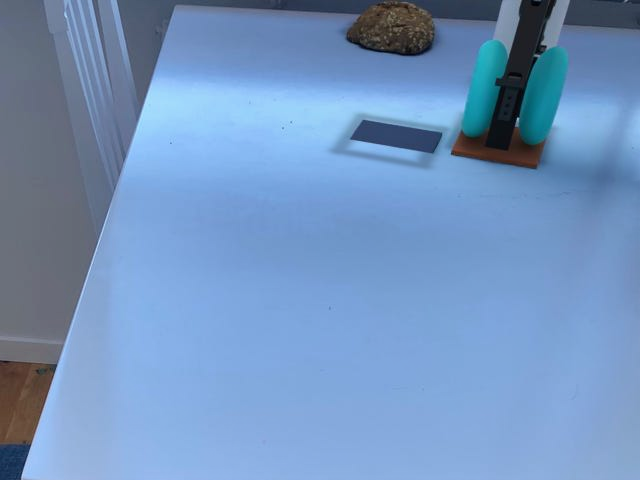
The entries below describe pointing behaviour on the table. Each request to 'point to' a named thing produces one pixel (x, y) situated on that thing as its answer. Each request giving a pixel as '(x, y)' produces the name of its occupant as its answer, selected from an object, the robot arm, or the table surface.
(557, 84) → the cyan capsule pair
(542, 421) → the table surface
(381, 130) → the blue mat
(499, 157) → the terracotta mat
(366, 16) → the bread roll
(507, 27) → the mug
